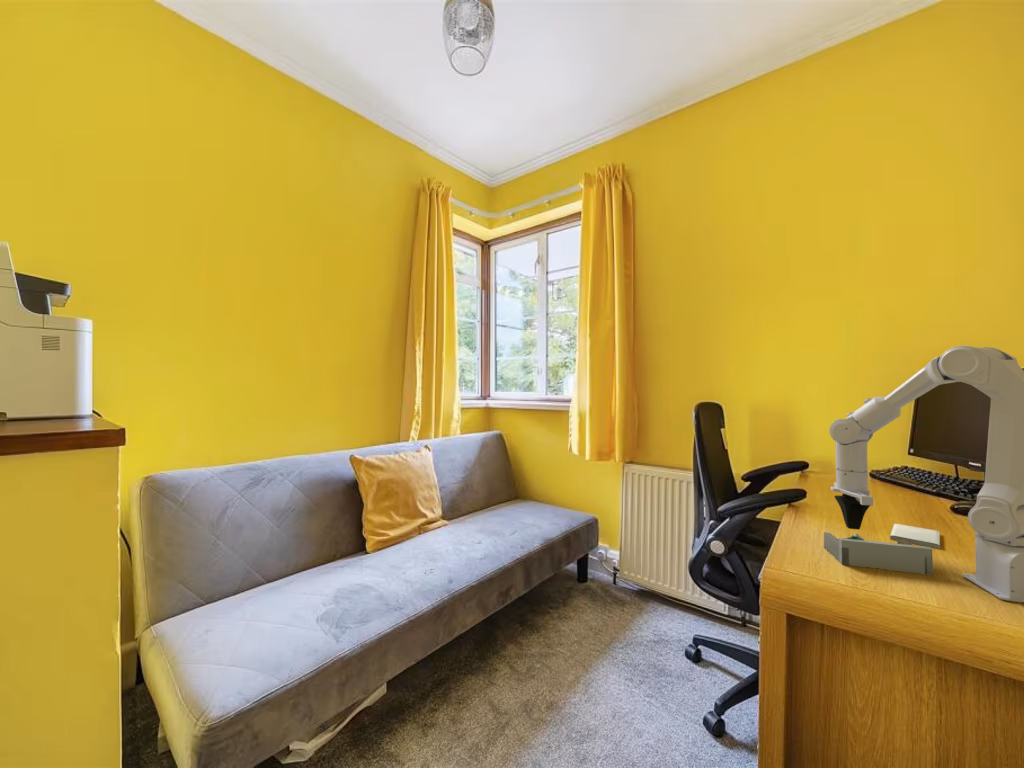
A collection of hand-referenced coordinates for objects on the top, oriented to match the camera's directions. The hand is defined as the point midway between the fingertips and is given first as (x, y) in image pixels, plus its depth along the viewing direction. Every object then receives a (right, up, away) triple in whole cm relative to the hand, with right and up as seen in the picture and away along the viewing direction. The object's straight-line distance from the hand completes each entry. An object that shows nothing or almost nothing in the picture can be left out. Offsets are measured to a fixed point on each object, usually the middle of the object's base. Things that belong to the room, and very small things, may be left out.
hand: (852, 528), depth 94 cm
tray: (-4, -3, -10) cm, 11 cm away
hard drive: (+18, -4, +3) cm, 18 cm away
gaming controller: (-6, -4, -8) cm, 11 cm away
